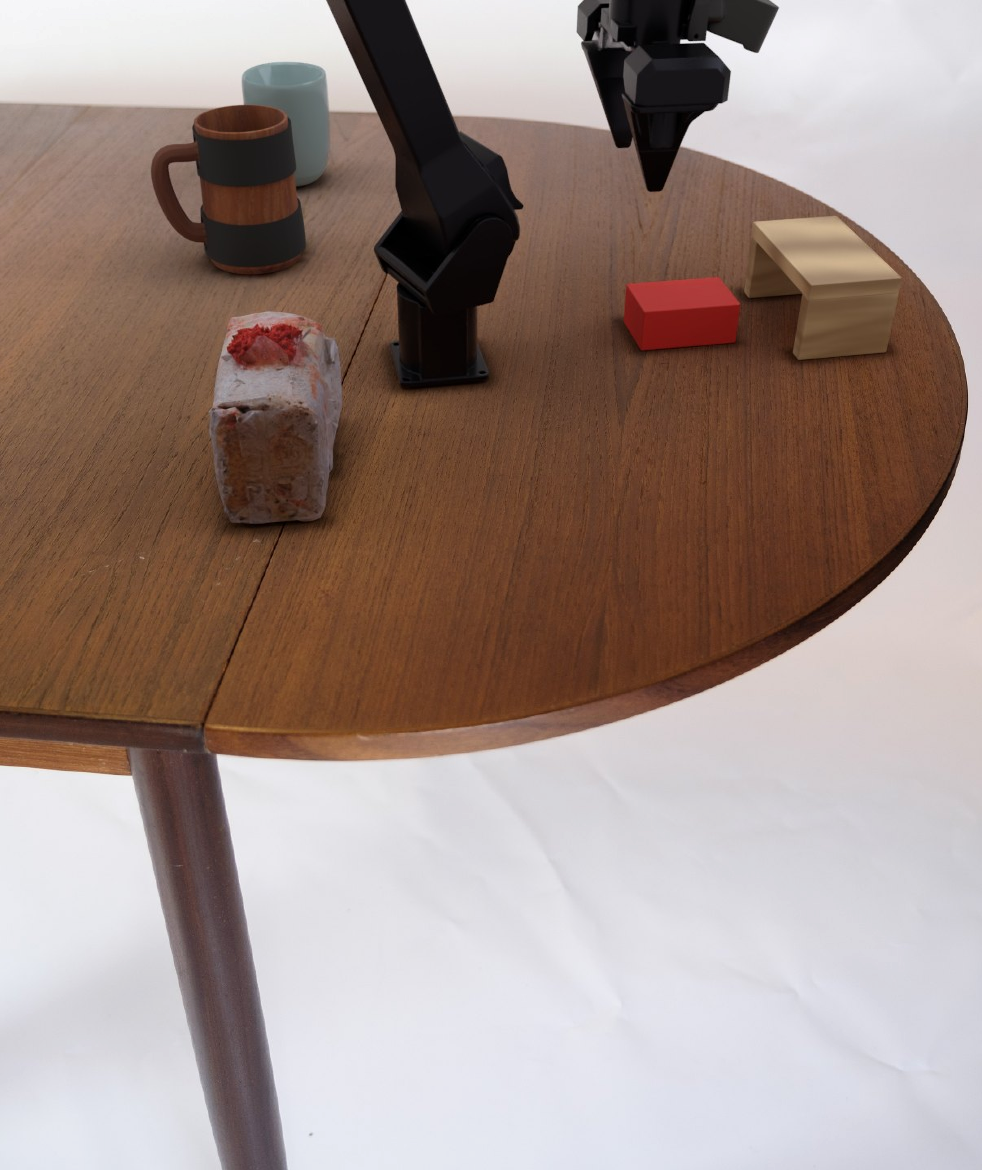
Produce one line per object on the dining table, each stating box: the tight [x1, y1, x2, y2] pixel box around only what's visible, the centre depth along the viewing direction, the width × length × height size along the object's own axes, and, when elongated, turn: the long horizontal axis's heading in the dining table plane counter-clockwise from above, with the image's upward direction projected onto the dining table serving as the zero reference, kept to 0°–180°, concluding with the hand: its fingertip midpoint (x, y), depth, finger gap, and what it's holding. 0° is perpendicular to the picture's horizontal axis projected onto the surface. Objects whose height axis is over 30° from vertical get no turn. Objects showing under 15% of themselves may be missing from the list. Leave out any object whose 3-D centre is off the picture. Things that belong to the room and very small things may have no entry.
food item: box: [208, 310, 343, 525], centre depth 80 cm, size 14×8×10 cm, turn 6°
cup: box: [241, 61, 331, 188], centre depth 121 cm, size 8×8×10 cm
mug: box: [150, 104, 307, 275], centre depth 106 cm, size 9×12×12 cm
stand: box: [743, 215, 903, 361], centre depth 99 cm, size 12×7×6 cm, turn 11°
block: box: [623, 276, 741, 351], centre depth 98 cm, size 8×5×3 cm, turn 101°
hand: (638, 168), depth 94 cm, fingers open, 9 cm apart
